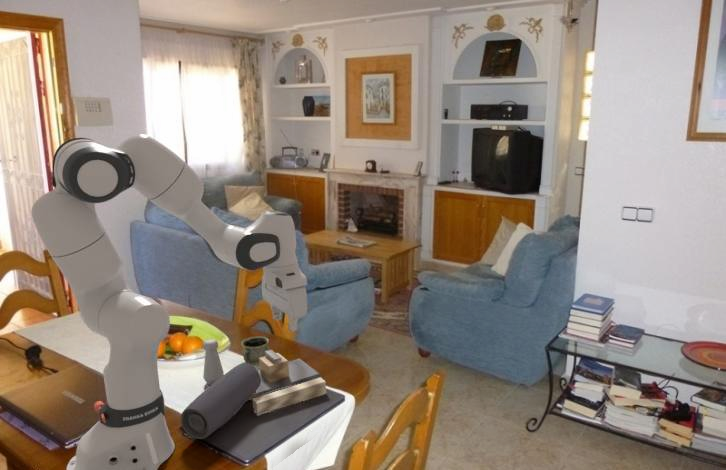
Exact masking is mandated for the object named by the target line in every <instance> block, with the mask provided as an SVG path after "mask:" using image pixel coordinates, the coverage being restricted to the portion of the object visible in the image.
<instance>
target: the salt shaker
mask: <svg viewBox="0 0 726 470" xmlns="http://www.w3.org/2000/svg"><path fill="white" fill-rule="evenodd" d="M218 348H219V342H218V340H217V339H216V338H215V339H214V338H209V339H206V340H204V341H203V343H202V349H203V350H204V351H205V353H204V362H203V363H204V364H203V374H202V375H203V376H202V377H203V379H204V381H205V382H206V383H207V385H208V386H211V385H212V384H213V383H214V382H215V381H217V380H218V379H219V378H221V377H222V376H223V375H224V374H225V372H224V368H223V366H222V362H221V359H220V356H219V355H220V354H219V352H218Z"/></svg>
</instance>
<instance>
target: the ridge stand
mask: <svg viewBox="0 0 726 470" xmlns="http://www.w3.org/2000/svg"><path fill="white" fill-rule="evenodd" d="M259 363H260V364H259V370H257V371H258V373H259V375H260V377H261V383H260V386H259V387H258V389H257V390H256V393H255V394H257V393H262V392H266V391H271V390H275V389H278V388H281V387H285V386H289V385H294V384H298V383H304V382H307V381H310V380H313V379H316V378H320V377H321V376H320V373H319V372H318V371H317V370H316V369H315V368H313V367H311V366H310V365H309V364H307V363H306V362H305V361H303V360H302V359H301V358H296V359H293V360H288V359H286V358H285V357H284V356H283V355H281V354H280V353H279V352H275V351H274V350H273V349H270V350H268V351H265V356H264V357H261V358H259Z"/></svg>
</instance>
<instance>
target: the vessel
mask: <svg viewBox="0 0 726 470" xmlns="http://www.w3.org/2000/svg"><path fill="white" fill-rule="evenodd" d="M269 342H270V341H269V338H267V337H266V336H251V337H248V338H245V339H243V340H242V341H241V346H242V352H241V354H242V355H241V356H242V357H243V360H244V363H248V364H251V365H252V366H257V365H259V366H260V363H259V358H261V357H264V356H265V351H268V350H271V348H270V346H269Z"/></svg>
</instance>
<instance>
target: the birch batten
mask: <svg viewBox="0 0 726 470" xmlns="http://www.w3.org/2000/svg"><path fill="white" fill-rule="evenodd" d="M326 383H327V382H326V380H324V378H323V377H321V376H320V378H316V379H313V380H310V381H307V382H304V383H301V384H297V385H294V386H291V387H288V388H285V389H282V390H278V391H275V392H272V393H269V394H266V395H263V396H259V397H256V398H253V399H252V400H251V401H252V409H253V408H254V410H255V411H256V412H257V414H259V413H262V412H265V411H269V410H273V409H276V408H279V407H283V406H287V405H291V404H294V405H296V404H295V403H297V404H299V403H298V402H300V403H302V402H301V401H303V402H305V400H306V401H309V400H311V399H314V398H317V397H321V396H324V395H327V387H326V385H327V384H326ZM308 399H309V400H308ZM291 406H292V405H291Z"/></svg>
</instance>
